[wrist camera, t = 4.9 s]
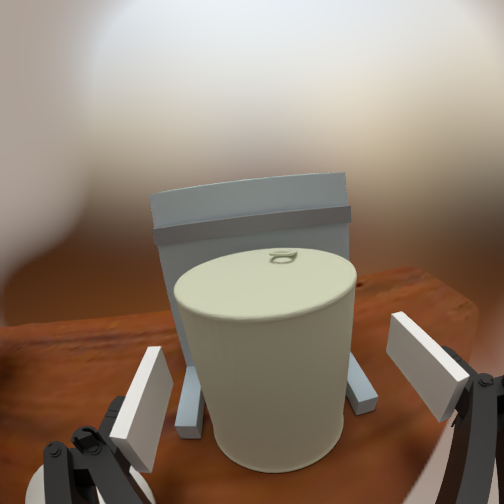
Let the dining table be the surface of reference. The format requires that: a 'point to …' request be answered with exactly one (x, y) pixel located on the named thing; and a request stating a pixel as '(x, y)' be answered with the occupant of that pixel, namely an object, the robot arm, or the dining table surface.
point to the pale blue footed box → (249, 249)
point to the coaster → (37, 497)
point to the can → (271, 351)
